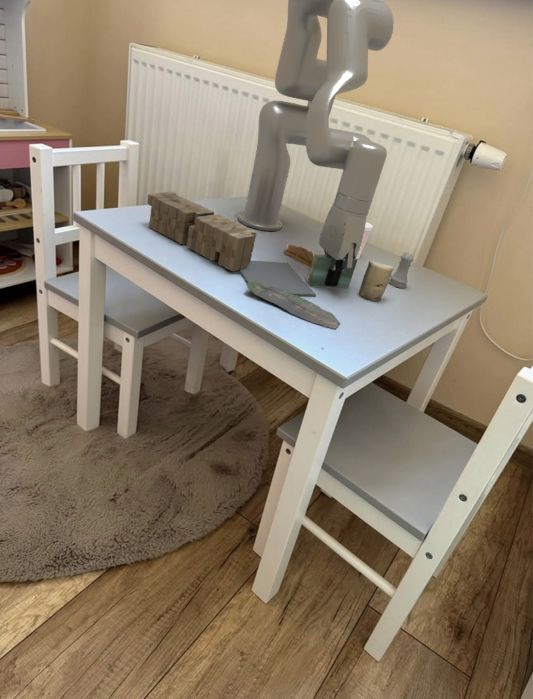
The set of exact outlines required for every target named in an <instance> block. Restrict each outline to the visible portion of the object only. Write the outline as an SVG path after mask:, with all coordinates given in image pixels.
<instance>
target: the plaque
mask: <svg viewBox="0 0 533 699" xmlns="http://www.w3.org/2000/svg"><path fill="white" fill-rule="evenodd" d="M313 256H314V258H313V262H312V265H311V268H309V273H308V276H307V280H306V284H307V285H308V286H309V287H310V288H337V289H338V288H340V289H349V288H350V284H351V281H352V280H353V279H352V278H353V276H354V272H355V269H356V267H357V263H358V259H355V260H354V261H352V268H345V269H344V271H342V273H341V276H340V279H339V282H338V285H337V286H326V285H325V280H326V277H327V274H328V270H329V269H331V266H332V263H333V259H334V258H333V257H331V256H330V255H326V254H325V253H324V254H322V253H313ZM339 262H342V261H338V263H339Z"/></svg>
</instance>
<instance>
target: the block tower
mask: <svg viewBox="0 0 533 699" xmlns="http://www.w3.org/2000/svg"><path fill="white" fill-rule="evenodd" d="M146 203H147V205H149V206H150V207H151V208H150V215H149V217H150V218H149V222H148V224H149V228H151V229H152V230H153V231H155V232H158V233H159V234H162V235H164V236H166V237H167V238H169V239H171V240H172V241H175V242H177V243H178V244H180V245H183V244H186V247H187V248H189V249H190V250H193V251H194V252H196V253H197V254H200V255H201V256H202V257H205V258H207V259H210V260H211V261H218V265H220V266H222V267H224V268H226V269H227V270H229V271H231V272H235V271H238V270H239V269H244V268H247V266H248V263H250V261H252V260H251V259H252V255H253V250H254V246H255V242H256V236H257V231H256V230H254V229H251V228H249V227H248V226H247V225H245V224H241V223H239V222H236V221H235V220H232V219H229V218H228V217H226V216H224V215H221V214H220V213H219V214H218V213H217V214H215V211H214V210H211V209H208V208H206V207H205V206H202V205H201V204H199V203H196V202H194V201H191V200H188V199H187V198H185V197H182V196H179V195H177V192H175V191H165V192H153V193H148V194H147V202H146Z"/></svg>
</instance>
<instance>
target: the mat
mask: <svg viewBox="0 0 533 699" xmlns="http://www.w3.org/2000/svg"><path fill="white" fill-rule="evenodd" d="M237 271H238V273H239V274H240V275H241V277H242V278H243V280H244V281H245V282H246V283H245V284H247V283H249V282H250V281H255V282H257V283H260V284H262V285H263V286H264V287H277V288H281V289H283V290H287V291H288V292H291V293H292V294H294V295H297V296H299V297H301V298H304V297H307V298H309V297H310V298H315V297H316V296H317V294H316V293H315V291H314V290H313V289H312V287H310V286H309V285H308V283H307V282H306V281H305V280H304V279H303V278H302V277H301V275H299V273H298V272H297V271H296V270H295V268H293V266H292V265H290V263H289V262H281V261H268V260H267V261H265V260H251V261H250V263H248V266H247V268H244V269H239V270H237ZM252 293H253V294H254V292H252Z"/></svg>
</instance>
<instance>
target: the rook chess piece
mask: <svg viewBox="0 0 533 699" xmlns="http://www.w3.org/2000/svg"><path fill="white" fill-rule="evenodd" d="M412 262H414V255H413V254H411V253H409V252H403V253H402V255H401V256H400V261H399V265H398V267H397V269H396V270H395V272H393V274H391V277H390V280H389V284H390V285H391V286H393V287H395V288H398V289H405V288H406V287H407V284H408V283H409V282H408V281H409V280H408V272H409V269H410V267H411V263H412Z"/></svg>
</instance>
